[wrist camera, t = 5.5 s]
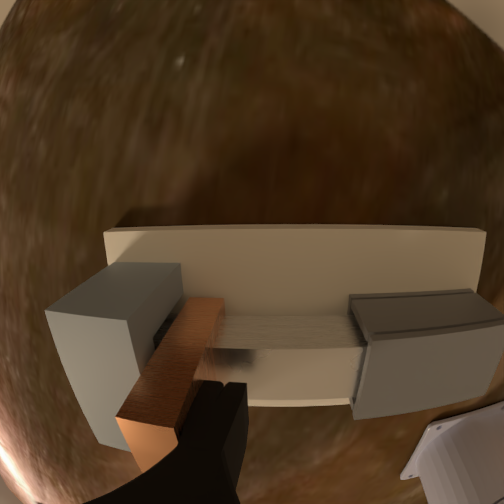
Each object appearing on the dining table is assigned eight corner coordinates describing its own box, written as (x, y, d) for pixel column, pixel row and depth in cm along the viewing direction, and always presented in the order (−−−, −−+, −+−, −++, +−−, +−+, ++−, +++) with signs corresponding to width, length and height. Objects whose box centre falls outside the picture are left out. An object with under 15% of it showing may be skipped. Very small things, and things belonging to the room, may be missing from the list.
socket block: (180, 262, 13) (126, 320, 8) (196, 383, 15) (169, 460, 10) (114, 262, 14) (44, 310, 9) (139, 376, 16) (99, 443, 10)
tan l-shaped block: (376, 297, 13) (449, 416, 6) (363, 367, 14) (403, 491, 7) (129, 294, 14) (32, 391, 6) (143, 361, 15) (78, 467, 8)
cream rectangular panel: (476, 228, 13) (536, 254, 8) (439, 380, 16) (469, 432, 11) (113, 228, 14) (52, 256, 10) (144, 384, 17) (113, 439, 12)
